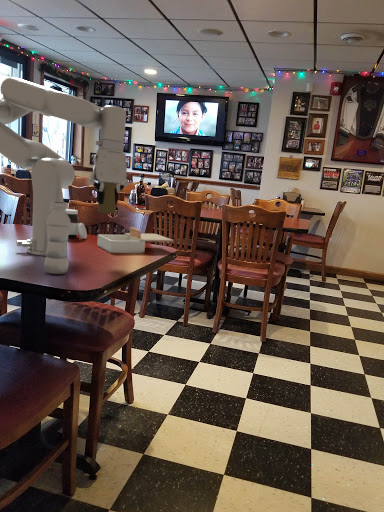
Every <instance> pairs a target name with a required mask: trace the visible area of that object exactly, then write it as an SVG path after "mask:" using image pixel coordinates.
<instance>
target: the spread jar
mask: <svg viewBox="0 0 384 512" xmlns="http://www.w3.org/2000/svg"><path fill="white" fill-rule="evenodd" d="M65 212H66V213H67V215H68V216H69V218H70V222H71V223H70V229H69V234H68V239H76V238H78V235H79V238H80V239H82V240H84V239H87V236H88V235H87V234H88V233H87V229H86V226H85V224H84V223H83V222H80V223H79V221H80V220H79V216H78V215H79V214H78V212H79V211H78V209H72V208H66V210H65Z"/></svg>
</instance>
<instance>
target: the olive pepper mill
mask: <svg viewBox="0 0 384 512" xmlns="http://www.w3.org/2000/svg"><path fill="white" fill-rule="evenodd" d="M116 186H117V183H107V182H104V188H103V192H104V201H103V204H99V203H98V205H97V209H96V210H97V213H103V214H116V213H117V211H116V209H117V208H116V206H117V205H115V188H116Z"/></svg>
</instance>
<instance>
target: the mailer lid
mask: <svg viewBox="0 0 384 512" xmlns="http://www.w3.org/2000/svg"><path fill="white" fill-rule="evenodd" d="M124 235H127V236H130V237H132V238H134V239H137V240H139V241H145V242H173V241H174V240H173V239H171V238H169V237H165V236H163V235H160V234H157V233H142V230H140V229H138V228H136V227H133V226H130V227H129V232H127V233H124Z"/></svg>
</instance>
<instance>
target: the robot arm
mask: <svg viewBox="0 0 384 512" xmlns="http://www.w3.org/2000/svg"><path fill="white" fill-rule="evenodd" d="M0 85H1V86H0V93H1V96H2V97H1V98H0V154H1V155H2V156H4V157H5V158H6V159H8V160H9V162H10V161H11V162H12V163H13V164H14V165H15V166H17V167H19V168H22V169H30V170H31V174H30V175H31V182H32V183H31V184H32V193H33V194H32V195H33V196H32V197H33V199H32V223H31V224H32V228H31V229H32V231H31V232H32V233H31V237H29V239H26V240H16V247H22V248H26V252H27V253H28V254H30V255H36V256H45V257H46V254H47V246H48V234H47V224H46V220H47V217H48V216H49V214H50V213H51V212H52V211H53V208H52V202H53V201H58V202H64V194H63V188H65V187H68V186H70V185H71V184H72V183H73V182H74V180H75V177H76V172H75V171H76V170H75V169H74V167H73V165H72V164H71V163H70V162H69V161H68V160H67V159H65V158H64V157H62V156H61V155H59V154H58V153H57V152H56V151H54V150H53V149H51V148H50V147H48V146H47V145H46V144H44V143H41V142H40V141H36V140H32V139H27V138H25V137H23V136H21V135H20V134H19V133H17V132H16V131H14V130H13V129H11V127H9V126H8V125H9V124H12V123H13V122H15V121H16V120H17V121H18V119H20V118H22V117H24V116H26V115H28V114H30V113H32V112H34V113H37V114H40V115H43V116H46V117H55V118H58V119H62V120H63V121H67V122H69V123H73V124H75V125H79V126H82V127H85V128H87V129H90V130H100V131H99V132H100V133H99V134H100V135H99V139H98V140H96V141H95V146H98V149H97V150H96V152H95V153H96V154H95V156H94V161H93V167H92V168H93V169H92V173H90V176H89V177H88V178H87V181H88V182H89V183H90V184H91V185H92V186H93V187H94V188H95V190H96V191H97V194H96V201H97V204H98V205H99V204H103V201H104V192H103V188H104V182H107V183H117V186H116V188H115V206H117V204H118V201H119V193H121V191H122V190H123V189H124V188H126V187H127V186H129V185H130V184H129V181H128V179H127V175H128V172H127V171H128V169H127V167H128V166H127V156H126V154H127V153H126V152H124V142H125V134H126V133H125V131H126V122H127V121H126V119H127V111H126V109H125V108H122V107H121V106H117V105H104V106H103V107H102V106H98V105H96V104H95V103H93V102H91V101H88V100H87V99H84V98H81V97H79V96H75V95H72V94H69V93H66V92H62V91H59V90H56V89H53V88H50V87H46V86H44V85H40V84H37V83H34V82H31V81H28V80H25V79H21V78H18V77H12V76H11V77H8V78H5V79H4V80H3V81H2V83H1V84H0Z"/></svg>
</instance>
